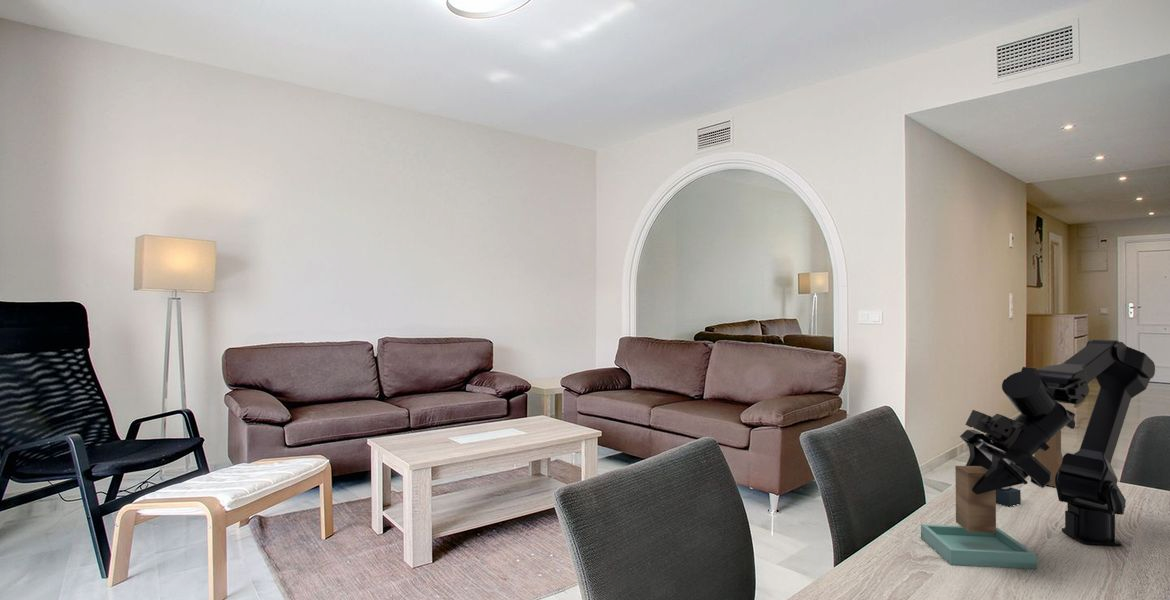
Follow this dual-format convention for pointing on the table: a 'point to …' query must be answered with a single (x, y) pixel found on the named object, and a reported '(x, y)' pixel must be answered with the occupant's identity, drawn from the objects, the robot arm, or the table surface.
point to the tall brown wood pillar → (974, 501)
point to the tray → (978, 547)
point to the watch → (1008, 496)
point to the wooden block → (1051, 456)
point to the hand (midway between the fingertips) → (967, 487)
